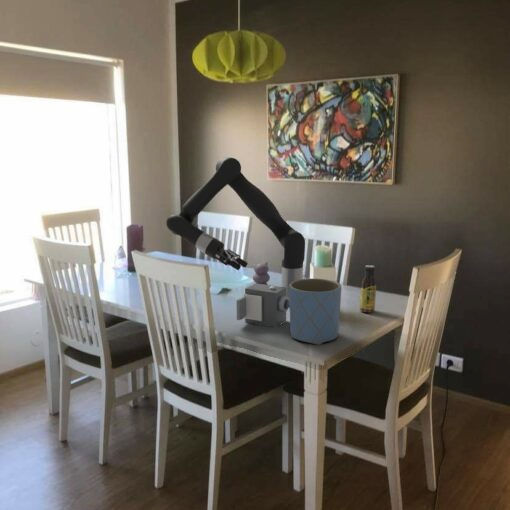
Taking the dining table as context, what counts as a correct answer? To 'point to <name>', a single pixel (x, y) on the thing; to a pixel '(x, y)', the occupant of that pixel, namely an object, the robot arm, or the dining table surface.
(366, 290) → the sauce bottle
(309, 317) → the planter
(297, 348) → the dining table surface
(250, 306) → the side door
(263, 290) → the camera housing
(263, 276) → the cat figurine
